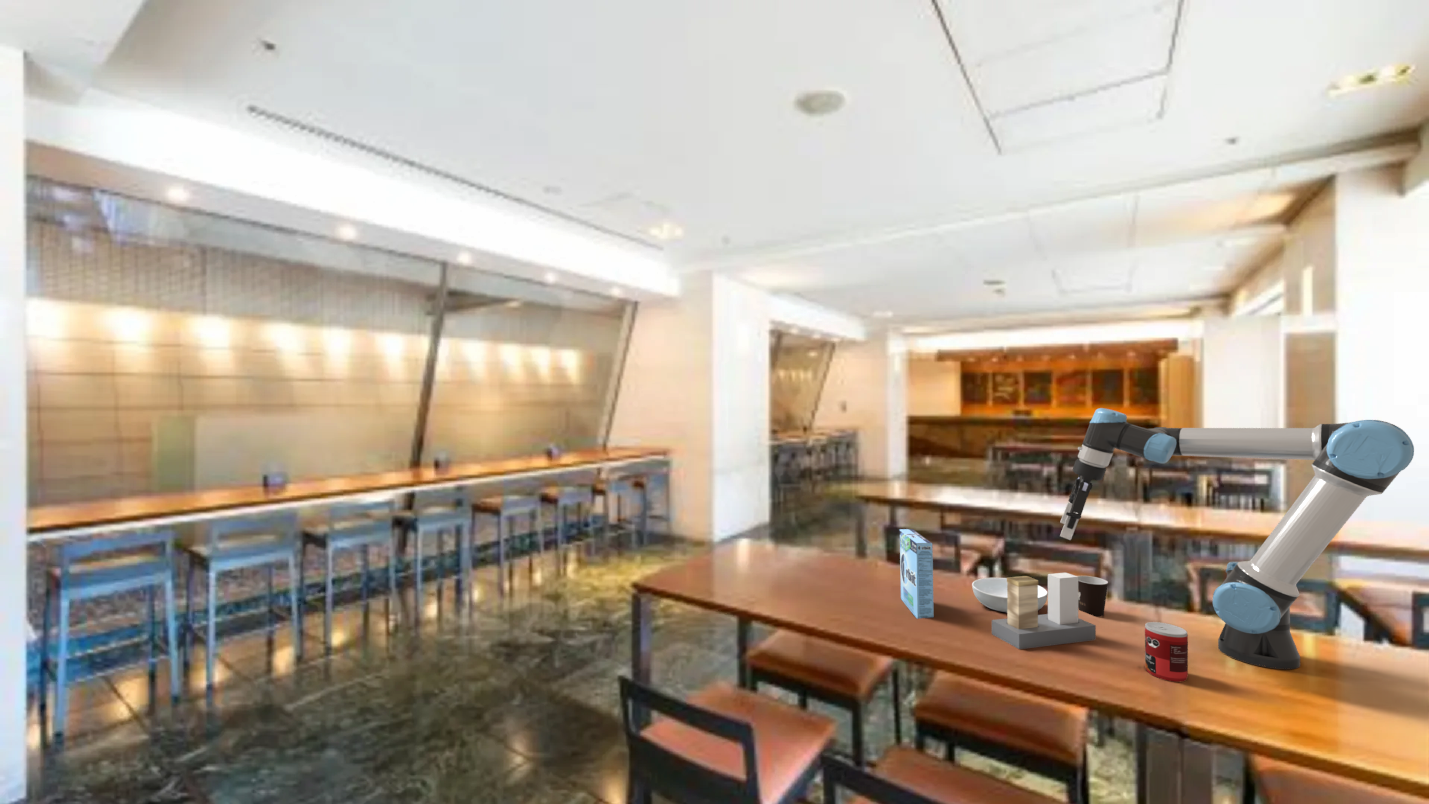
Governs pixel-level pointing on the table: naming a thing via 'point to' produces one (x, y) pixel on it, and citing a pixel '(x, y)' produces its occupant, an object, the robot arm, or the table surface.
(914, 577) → the gum box
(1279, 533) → the robot arm
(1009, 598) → the beech plug
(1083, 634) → the grey peg board
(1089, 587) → the coffee mug
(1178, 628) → the canned food
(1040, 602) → the serving bowl
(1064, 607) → the white plug
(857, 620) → the table surface
